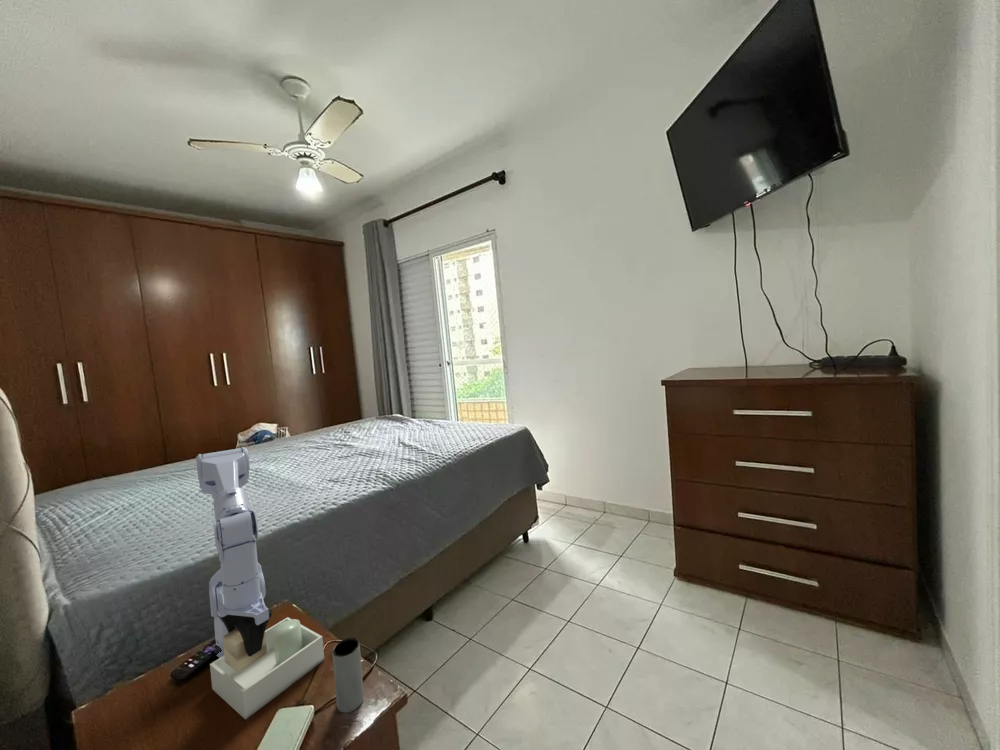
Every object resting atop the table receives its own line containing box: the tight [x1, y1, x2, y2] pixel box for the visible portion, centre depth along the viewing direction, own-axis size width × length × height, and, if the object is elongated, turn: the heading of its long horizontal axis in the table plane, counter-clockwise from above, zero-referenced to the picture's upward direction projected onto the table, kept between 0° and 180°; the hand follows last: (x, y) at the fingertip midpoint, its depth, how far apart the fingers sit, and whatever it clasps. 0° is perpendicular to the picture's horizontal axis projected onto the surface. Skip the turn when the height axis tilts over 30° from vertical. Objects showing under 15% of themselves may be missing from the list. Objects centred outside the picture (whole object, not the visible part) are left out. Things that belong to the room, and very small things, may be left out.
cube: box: [223, 629, 267, 672], centre depth 73 cm, size 5×5×5 cm
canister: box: [272, 618, 303, 667], centre depth 79 cm, size 5×5×7 cm
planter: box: [332, 637, 365, 714], centre depth 69 cm, size 4×4×10 cm
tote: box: [209, 616, 325, 720], centre depth 77 cm, size 13×15×5 cm
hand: (247, 647), depth 73 cm, fingers closed on cube, 5 cm apart
